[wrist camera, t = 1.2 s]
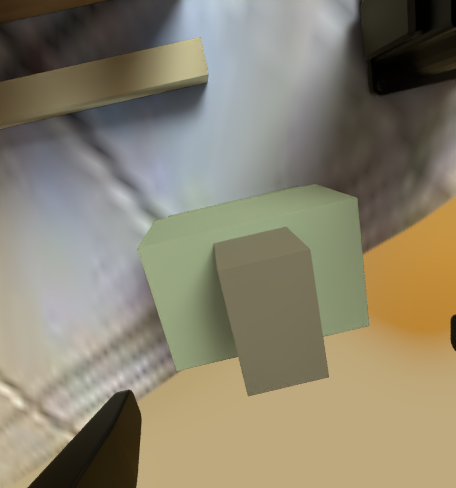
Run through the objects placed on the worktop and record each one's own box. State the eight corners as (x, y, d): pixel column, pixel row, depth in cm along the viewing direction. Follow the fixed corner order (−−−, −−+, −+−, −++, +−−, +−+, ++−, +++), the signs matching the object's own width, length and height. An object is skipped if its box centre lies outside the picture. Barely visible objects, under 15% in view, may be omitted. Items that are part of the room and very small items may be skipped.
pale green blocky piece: (304, 180, 19) (401, 212, 10) (317, 270, 21) (409, 369, 12) (159, 213, 19) (118, 278, 10) (184, 301, 21) (170, 426, 12)
